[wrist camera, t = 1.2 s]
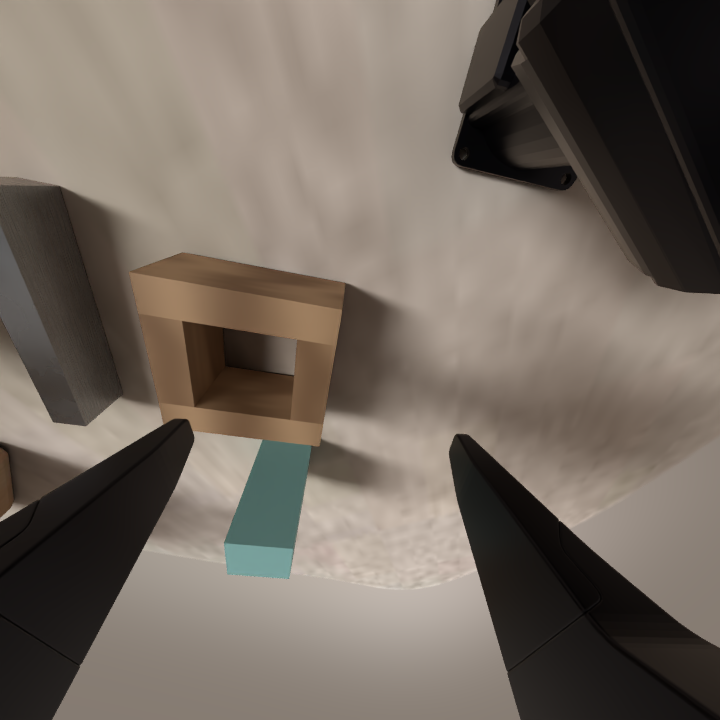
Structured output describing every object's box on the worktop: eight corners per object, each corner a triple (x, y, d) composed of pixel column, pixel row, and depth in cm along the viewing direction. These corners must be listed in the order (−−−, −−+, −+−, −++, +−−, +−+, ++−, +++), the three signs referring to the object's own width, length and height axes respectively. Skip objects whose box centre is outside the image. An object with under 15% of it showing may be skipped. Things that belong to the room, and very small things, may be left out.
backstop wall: (59, 185, 15) (-17, 184, 12) (122, 393, 22) (86, 426, 19) (16, 177, 15) (-72, 174, 12) (95, 390, 22) (53, 422, 19)
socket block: (345, 283, 17) (342, 309, 14) (325, 402, 22) (319, 446, 18) (182, 252, 16) (128, 271, 12) (199, 384, 21) (164, 427, 17)
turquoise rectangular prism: (313, 436, 24) (293, 549, 17) (308, 465, 27) (289, 578, 19) (266, 430, 24) (224, 543, 16) (265, 460, 26) (227, 574, 18)
